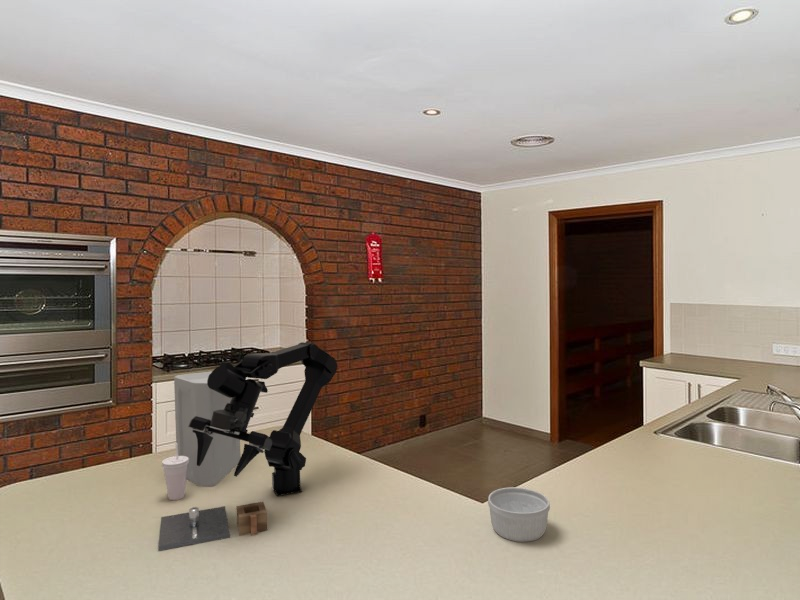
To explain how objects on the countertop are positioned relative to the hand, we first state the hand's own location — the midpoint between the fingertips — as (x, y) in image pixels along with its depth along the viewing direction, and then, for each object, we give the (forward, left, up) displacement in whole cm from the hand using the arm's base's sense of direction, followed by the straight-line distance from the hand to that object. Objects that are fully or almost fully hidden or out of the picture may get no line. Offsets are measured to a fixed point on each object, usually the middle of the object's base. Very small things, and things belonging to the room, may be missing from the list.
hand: (216, 471), depth 117 cm
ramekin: (-61, +28, -13) cm, 68 cm away
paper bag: (+2, -36, -13) cm, 38 cm away
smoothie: (+9, -21, -13) cm, 26 cm away
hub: (+5, -1, -13) cm, 14 cm away
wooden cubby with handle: (-7, +3, -13) cm, 15 cm away
